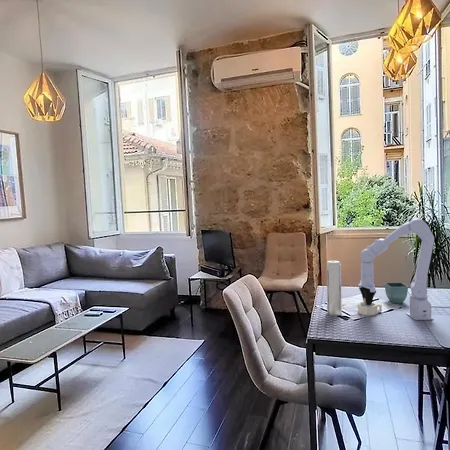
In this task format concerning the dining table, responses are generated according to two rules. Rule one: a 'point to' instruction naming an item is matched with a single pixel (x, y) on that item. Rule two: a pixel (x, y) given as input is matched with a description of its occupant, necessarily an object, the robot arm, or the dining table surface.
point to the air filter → (334, 288)
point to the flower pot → (396, 292)
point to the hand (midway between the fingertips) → (367, 303)
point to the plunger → (365, 302)
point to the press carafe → (369, 309)
